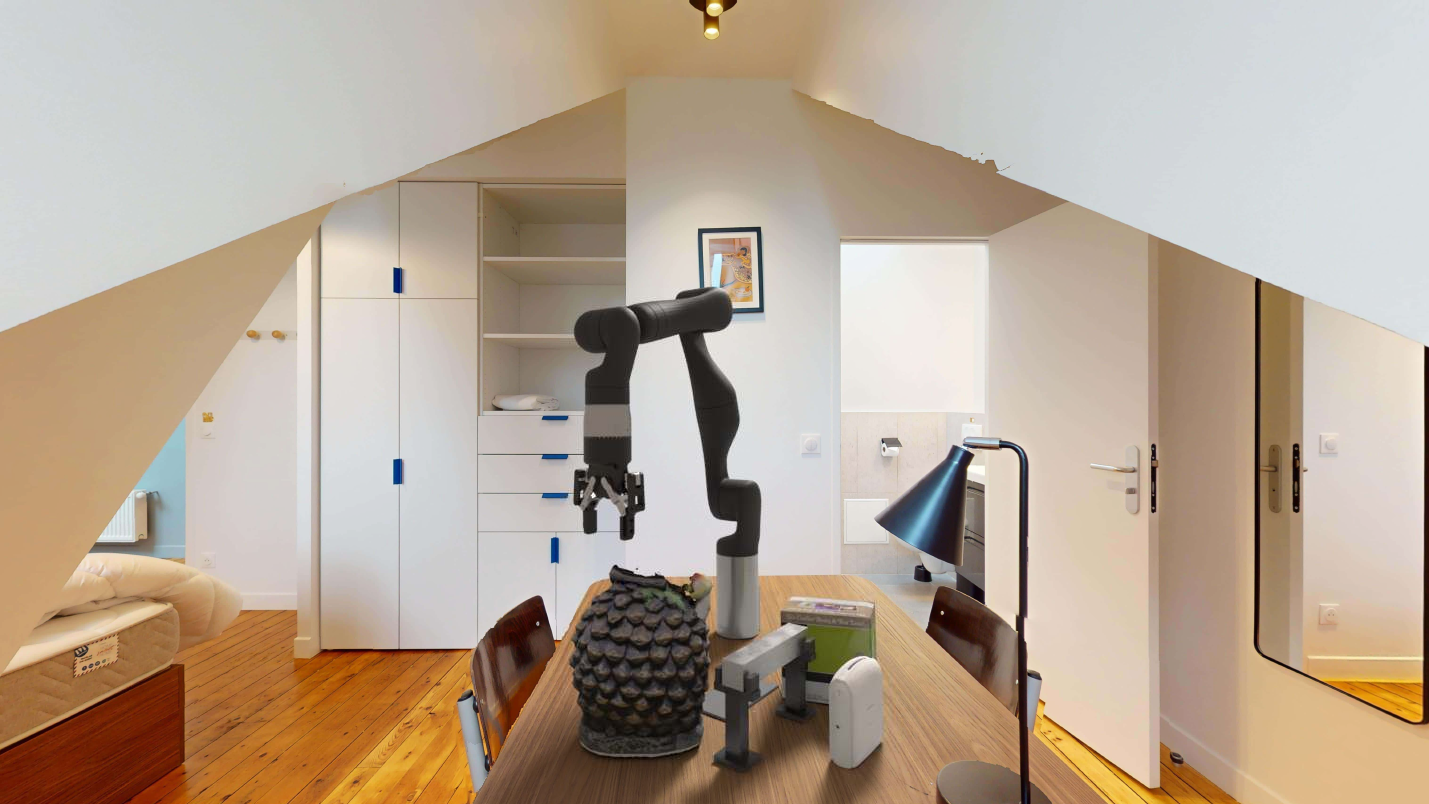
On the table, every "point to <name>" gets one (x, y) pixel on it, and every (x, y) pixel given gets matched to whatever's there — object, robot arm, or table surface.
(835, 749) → the photo printer
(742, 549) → the robot arm
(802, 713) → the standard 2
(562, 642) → the table surface
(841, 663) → the tea box
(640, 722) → the scaly pinecone sculpture
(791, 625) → the rail
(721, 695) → the pad
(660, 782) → the table surface
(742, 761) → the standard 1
